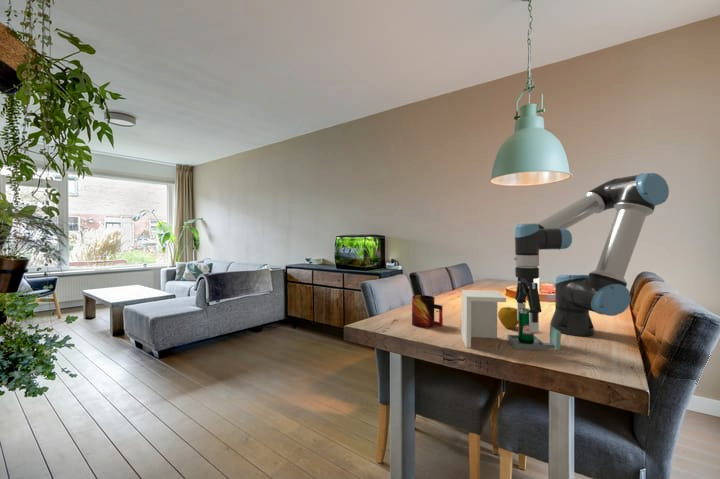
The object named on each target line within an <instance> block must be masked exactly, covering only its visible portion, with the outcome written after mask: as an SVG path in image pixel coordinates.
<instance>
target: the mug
mask: <svg viewBox="0 0 720 479" xmlns="http://www.w3.org/2000/svg"><path fill="white" fill-rule="evenodd" d="M411 305H412V306H411V324H412V326H414V327H416V328H422V329H424V328H425V329H428V328H433V327H434V326H435V327H440V328H442V327H443V321H444V319H443V305H441V304H435V297H434V296H432V295H428V294H427V295H426V294H425V295H424V294H422V295H421V294H418V295H413V296H412V297H411ZM435 309H436V310H438V316H439V317H438V321H436V320H435Z"/></svg>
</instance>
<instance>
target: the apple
mask: <svg viewBox="0 0 720 479" xmlns="http://www.w3.org/2000/svg"><path fill="white" fill-rule="evenodd" d="M497 318H498V320H499V321H500V323H501V325H502V326H504V328H505V329H509V330H510V329H515V328H516V327H517V326H518V320H517V307H510V306H508V307H507V306H504V307H501V308H500V309H498V311H497Z"/></svg>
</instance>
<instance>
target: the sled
mask: <svg viewBox="0 0 720 479" xmlns="http://www.w3.org/2000/svg"><path fill="white" fill-rule="evenodd" d="M561 334H562V333H561V332H560V331H558V330H557V329H555V328H554V327H550V326H549V342H543V341H542V340H541V339H540V338H538V337H537V336H536V335H534V343H533V344H522V343H520V342H519V341H518V334H507V341H508V342H509V343H510V344H511V346H512V347H513V348H514V350H522V351H523V350H524V351H525V350H526V351H540V352H541V351H542V352H546V351H547V348H555V349H556V350H561V343H562V342H561V340H562V338H561V337H562V336H561Z"/></svg>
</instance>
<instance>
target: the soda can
mask: <svg viewBox="0 0 720 479" xmlns="http://www.w3.org/2000/svg"><path fill="white" fill-rule="evenodd" d="M529 310H530V308H529V307H527V308H521V309H520V310H519V317H518V324H517V326H518V330H517V331H518V332H517V333H518V334H517V335H518V341H519V342H520V343H522V344H533V343H534V336H535V332H530V331H529V313H528V311H529Z"/></svg>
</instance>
